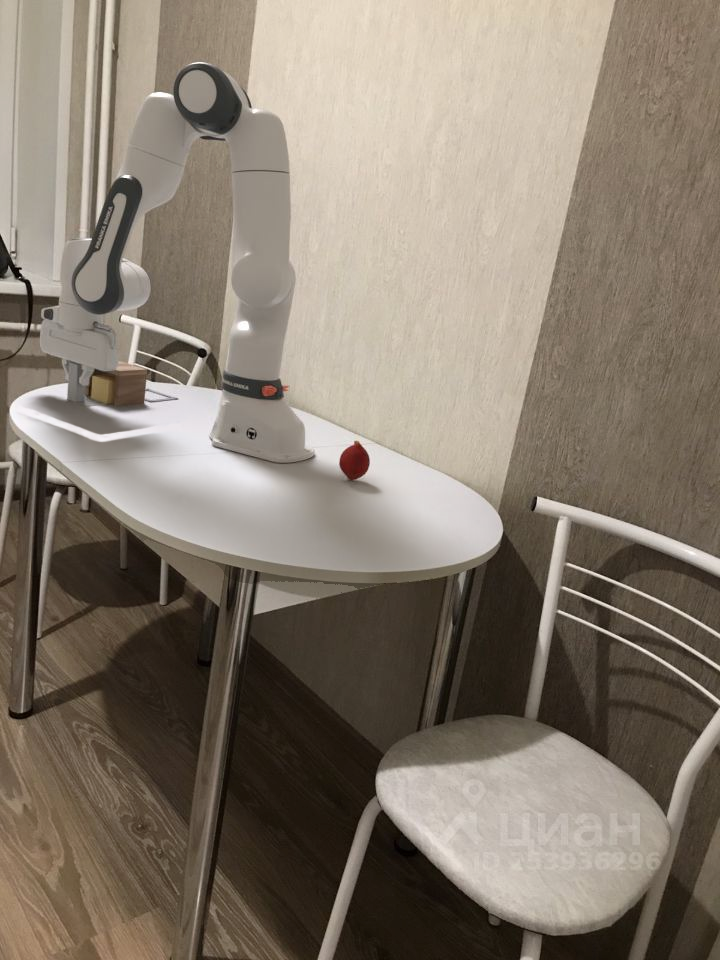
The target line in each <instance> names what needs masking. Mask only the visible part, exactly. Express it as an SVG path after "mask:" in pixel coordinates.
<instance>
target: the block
mask: <svg viewBox="0 0 720 960" xmlns="http://www.w3.org/2000/svg"><path fill="white" fill-rule="evenodd" d="M115 382H116V376H113V375H97V376H92V391H91V396H90V397H91V398H92V399H95V400H98V401H101V402H104V403H114V395H115Z"/></svg>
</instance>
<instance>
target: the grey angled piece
mask: <svg viewBox="0 0 720 960" xmlns="http://www.w3.org/2000/svg"><path fill="white" fill-rule="evenodd" d="M83 371H84V370H82V364H79V363H76V362H69V376H68V380H67V394H66V395H67V396H66V399H67V400H68V401H71V402H73V403H77V404H79V405H83V406H84V407H85V406H86V407H89V408H90V407H96V406H97V407H99V406H105V405H106V406H108V405H114V403H104V402H101V401H98V400H95V399H92V398H91V396H88V397H86V396H85V388H86V386H83V385H80V384H78V376H81V375H82V373H83Z"/></svg>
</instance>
